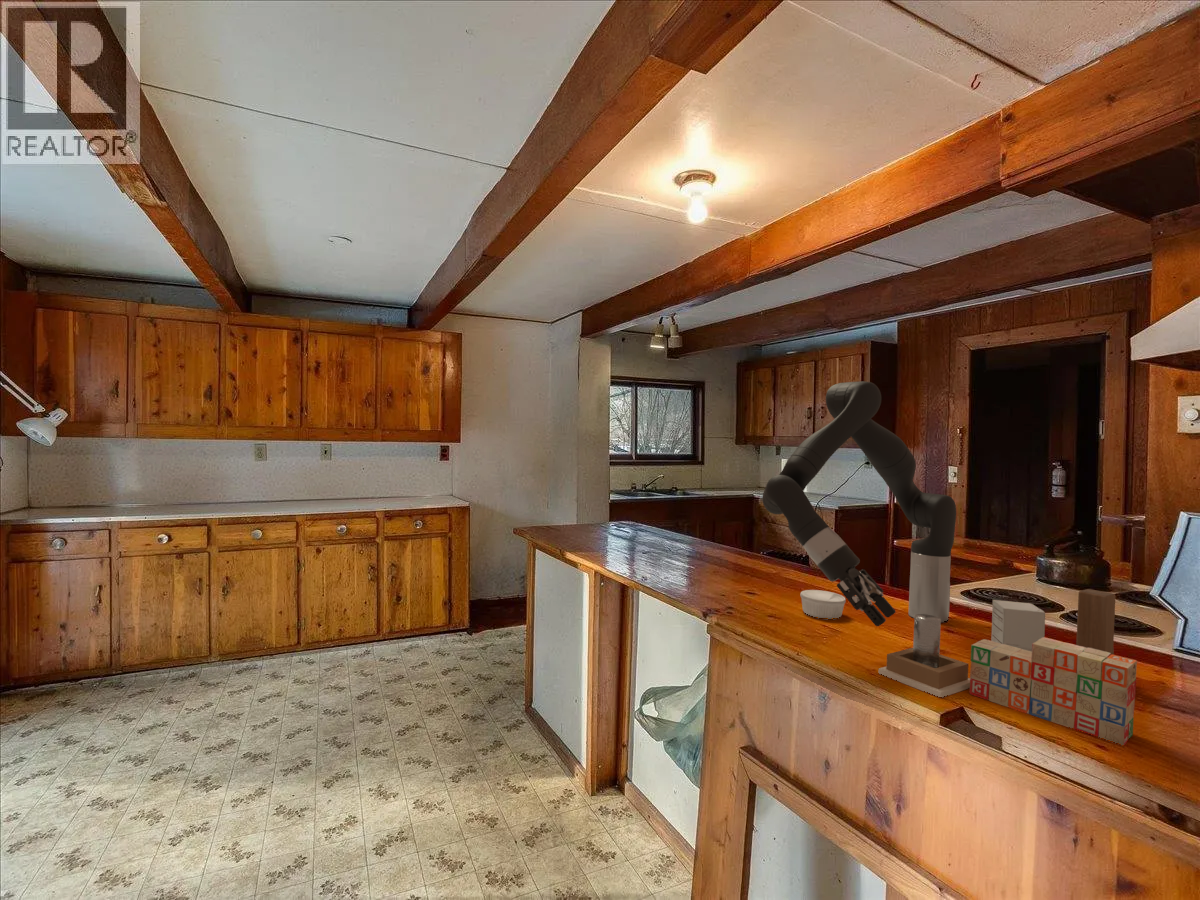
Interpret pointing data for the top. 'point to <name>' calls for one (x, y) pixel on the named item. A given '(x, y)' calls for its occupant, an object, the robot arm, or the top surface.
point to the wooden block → (1096, 620)
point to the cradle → (927, 673)
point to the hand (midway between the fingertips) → (887, 619)
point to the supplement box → (1017, 624)
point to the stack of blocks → (1059, 684)
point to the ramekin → (822, 603)
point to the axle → (926, 640)
